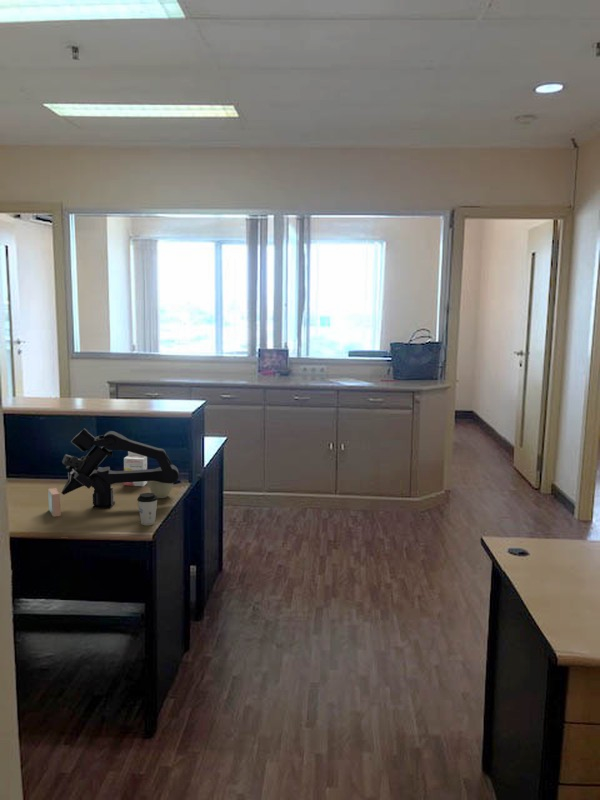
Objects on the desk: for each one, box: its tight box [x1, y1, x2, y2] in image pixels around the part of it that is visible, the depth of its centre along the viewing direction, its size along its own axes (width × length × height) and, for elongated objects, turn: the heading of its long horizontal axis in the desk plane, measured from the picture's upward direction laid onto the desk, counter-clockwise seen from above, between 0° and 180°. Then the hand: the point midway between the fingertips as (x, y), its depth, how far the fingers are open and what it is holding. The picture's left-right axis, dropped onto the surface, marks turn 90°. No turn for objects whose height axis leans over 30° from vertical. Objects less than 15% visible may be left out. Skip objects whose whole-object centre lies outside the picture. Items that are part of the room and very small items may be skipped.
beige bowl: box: [147, 481, 174, 499], centre depth 237 cm, size 10×10×7 cm
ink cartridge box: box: [123, 451, 148, 487], centre depth 253 cm, size 9×5×15 cm, turn 84°
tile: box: [47, 487, 62, 517], centre depth 217 cm, size 3×8×8 cm, turn 31°
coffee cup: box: [136, 492, 159, 526], centre depth 207 cm, size 7×7×10 cm
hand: (62, 493), depth 218 cm, fingers closed
